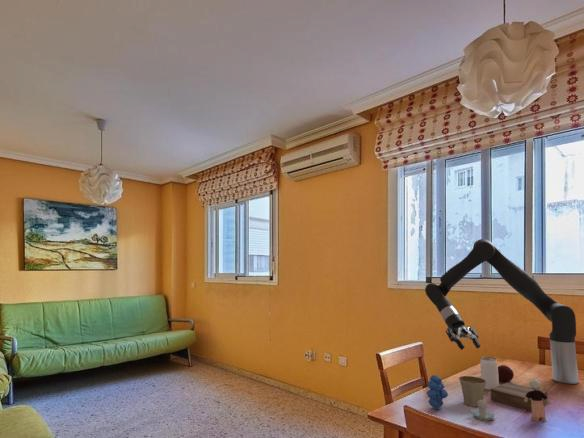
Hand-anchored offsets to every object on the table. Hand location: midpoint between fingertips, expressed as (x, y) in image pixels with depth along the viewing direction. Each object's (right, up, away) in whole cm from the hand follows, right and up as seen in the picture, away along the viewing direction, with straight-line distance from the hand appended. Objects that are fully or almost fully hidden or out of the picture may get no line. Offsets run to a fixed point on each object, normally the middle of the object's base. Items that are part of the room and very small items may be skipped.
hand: (471, 348), depth 170 cm
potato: (+14, -14, -1) cm, 20 cm away
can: (+3, -13, -11) cm, 17 cm away
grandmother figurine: (+2, -9, -43) cm, 44 cm away
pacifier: (-15, -10, -42) cm, 46 cm away
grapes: (-28, -10, -35) cm, 46 cm away
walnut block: (+6, -11, -26) cm, 29 cm away
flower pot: (-12, -11, -29) cm, 33 cm away
